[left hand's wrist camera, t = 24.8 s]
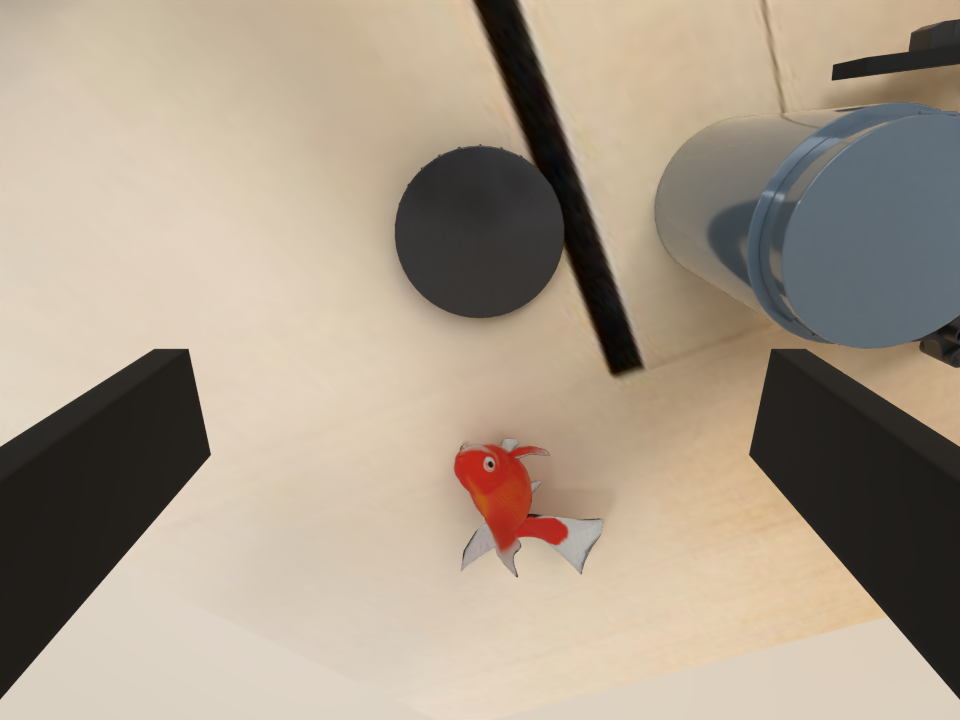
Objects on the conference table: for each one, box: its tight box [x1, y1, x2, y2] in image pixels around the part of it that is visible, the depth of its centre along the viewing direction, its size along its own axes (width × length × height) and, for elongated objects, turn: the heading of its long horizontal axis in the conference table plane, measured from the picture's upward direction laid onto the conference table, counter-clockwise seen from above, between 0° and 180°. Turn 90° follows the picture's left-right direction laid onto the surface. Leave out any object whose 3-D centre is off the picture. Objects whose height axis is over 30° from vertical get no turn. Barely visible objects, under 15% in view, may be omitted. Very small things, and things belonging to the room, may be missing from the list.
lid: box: [395, 144, 565, 318], centre depth 36 cm, size 11×11×2 cm
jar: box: [655, 102, 960, 349], centre depth 29 cm, size 10×10×16 cm
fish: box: [454, 439, 604, 577], centre depth 41 cm, size 11×16×10 cm
